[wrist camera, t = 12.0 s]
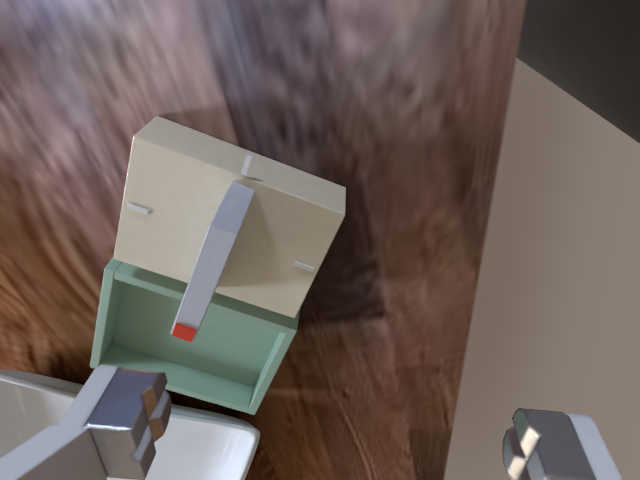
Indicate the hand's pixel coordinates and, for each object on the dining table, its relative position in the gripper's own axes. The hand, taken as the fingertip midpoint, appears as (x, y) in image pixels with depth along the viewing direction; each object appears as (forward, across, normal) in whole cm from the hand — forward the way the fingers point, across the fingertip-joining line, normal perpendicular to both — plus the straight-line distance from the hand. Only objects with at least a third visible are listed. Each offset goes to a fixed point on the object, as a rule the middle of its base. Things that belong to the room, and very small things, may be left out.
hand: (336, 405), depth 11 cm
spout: (+19, +8, +8) cm, 22 cm away
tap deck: (+23, +8, +8) cm, 26 cm away
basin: (+23, +13, +20) cm, 33 cm away
